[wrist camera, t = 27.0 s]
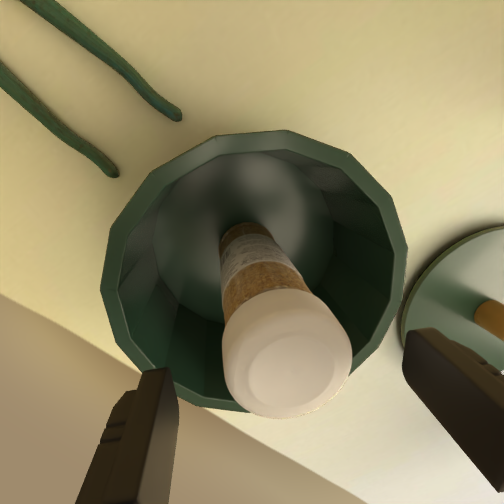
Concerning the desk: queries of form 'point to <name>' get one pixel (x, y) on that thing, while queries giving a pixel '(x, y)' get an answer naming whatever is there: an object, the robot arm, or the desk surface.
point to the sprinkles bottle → (276, 330)
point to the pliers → (67, 23)
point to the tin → (283, 231)
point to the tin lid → (464, 296)
